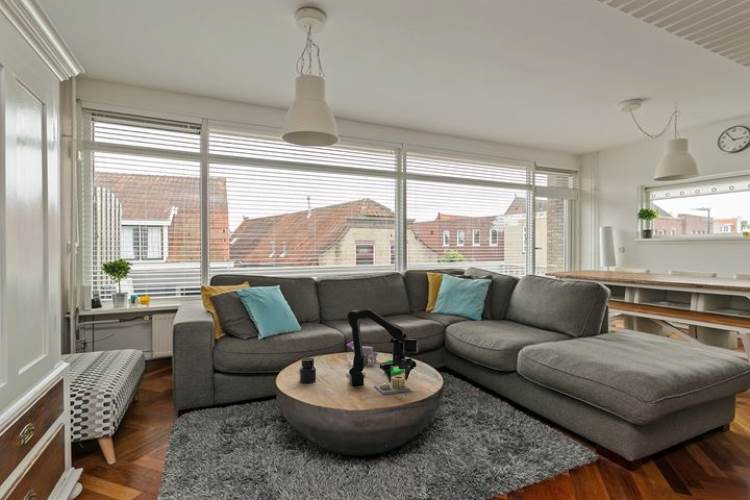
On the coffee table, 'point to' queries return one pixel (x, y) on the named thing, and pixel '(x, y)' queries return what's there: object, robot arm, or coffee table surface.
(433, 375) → the coffee table surface
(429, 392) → the coffee table surface
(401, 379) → the gear
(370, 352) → the toy sheep
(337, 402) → the coffee table surface
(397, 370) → the mechanical part
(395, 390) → the carrier board
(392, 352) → the robot arm
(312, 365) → the ink bottle
